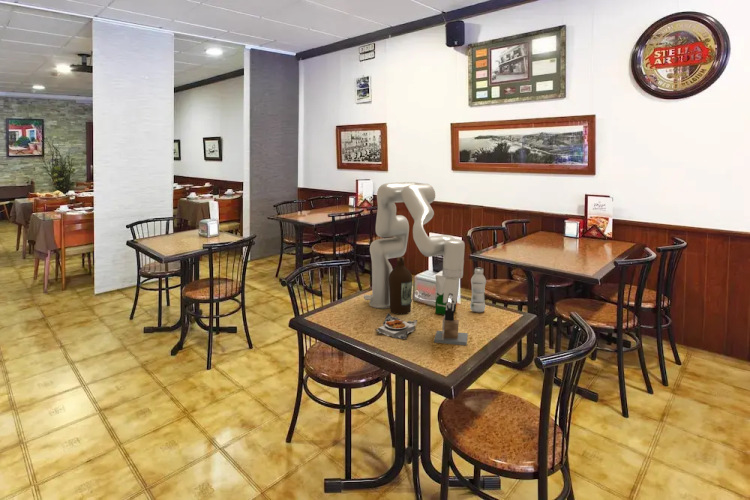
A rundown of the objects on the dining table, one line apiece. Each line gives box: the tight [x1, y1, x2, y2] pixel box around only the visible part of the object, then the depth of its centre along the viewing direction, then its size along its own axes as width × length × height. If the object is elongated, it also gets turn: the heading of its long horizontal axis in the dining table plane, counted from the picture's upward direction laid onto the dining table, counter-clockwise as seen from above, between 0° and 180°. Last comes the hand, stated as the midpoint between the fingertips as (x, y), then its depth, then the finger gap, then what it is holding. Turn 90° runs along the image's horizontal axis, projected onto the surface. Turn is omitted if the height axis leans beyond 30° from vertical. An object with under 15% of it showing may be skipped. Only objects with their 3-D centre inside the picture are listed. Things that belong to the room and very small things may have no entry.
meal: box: [374, 313, 418, 340], centre depth 180 cm, size 15×4×13 cm
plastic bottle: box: [469, 267, 487, 313], centre depth 199 cm, size 6×7×20 cm
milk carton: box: [434, 270, 456, 316], centre depth 199 cm, size 9×9×20 cm
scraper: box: [441, 315, 460, 340], centre depth 170 cm, size 6×8×7 cm
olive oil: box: [389, 256, 413, 315], centre depth 200 cm, size 11×11×25 cm
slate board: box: [433, 330, 469, 346], centre depth 171 cm, size 12×9×1 cm
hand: (450, 315), depth 170 cm, fingers open, 9 cm apart
